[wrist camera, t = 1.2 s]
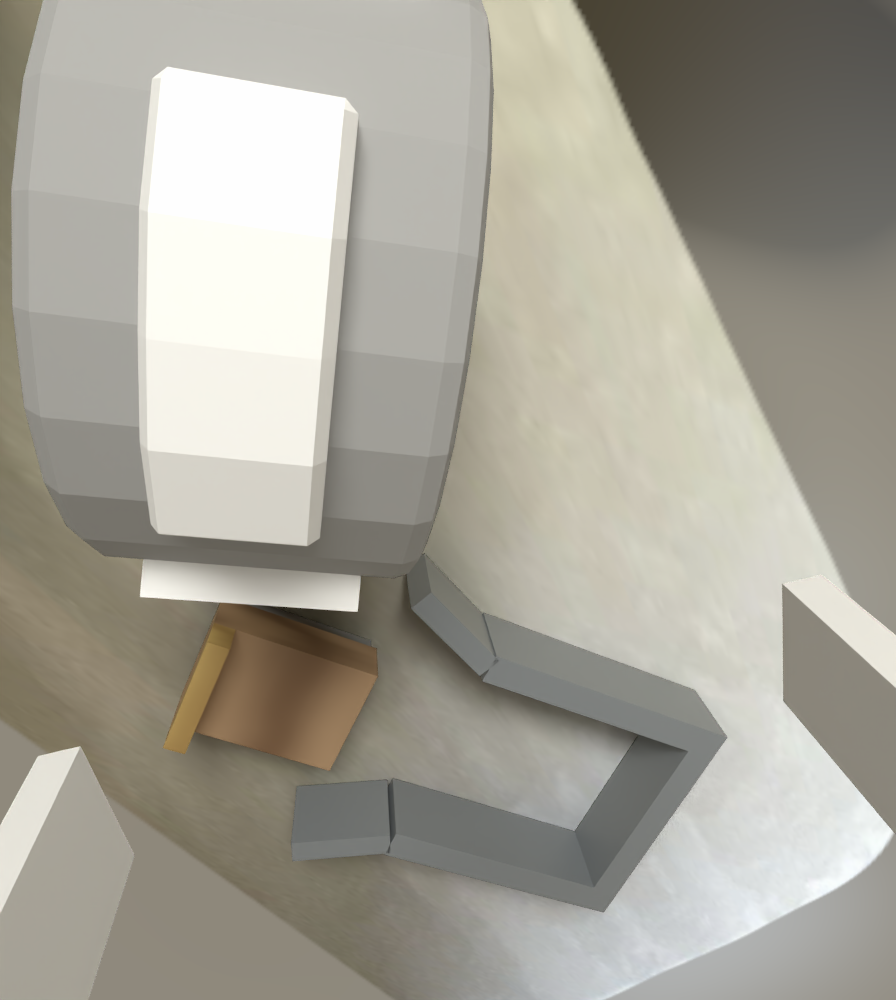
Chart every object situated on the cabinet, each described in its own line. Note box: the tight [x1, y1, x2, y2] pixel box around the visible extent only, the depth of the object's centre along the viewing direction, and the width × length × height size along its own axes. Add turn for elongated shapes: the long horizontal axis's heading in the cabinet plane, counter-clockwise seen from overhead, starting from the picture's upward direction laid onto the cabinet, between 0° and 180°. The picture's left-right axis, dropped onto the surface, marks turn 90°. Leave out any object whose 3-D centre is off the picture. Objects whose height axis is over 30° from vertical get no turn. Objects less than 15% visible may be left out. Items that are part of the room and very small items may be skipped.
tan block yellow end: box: [163, 602, 378, 771], centre depth 36 cm, size 8×6×5 cm
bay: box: [291, 554, 727, 912], centre depth 40 cm, size 18×17×4 cm
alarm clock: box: [11, 0, 494, 612], centre depth 22 cm, size 18×8×20 cm, turn 172°
